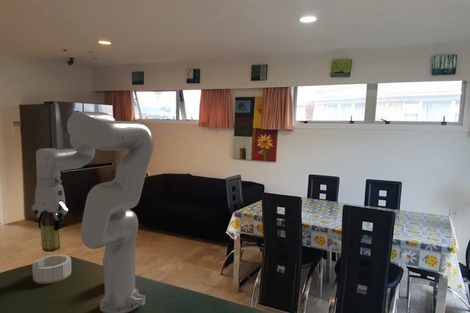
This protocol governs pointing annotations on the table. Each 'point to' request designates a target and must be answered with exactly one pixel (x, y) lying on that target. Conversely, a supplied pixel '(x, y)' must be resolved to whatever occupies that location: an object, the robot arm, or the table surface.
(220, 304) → the table surface
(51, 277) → the bottle holder
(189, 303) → the table surface
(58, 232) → the sauce bottle
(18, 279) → the table surface
